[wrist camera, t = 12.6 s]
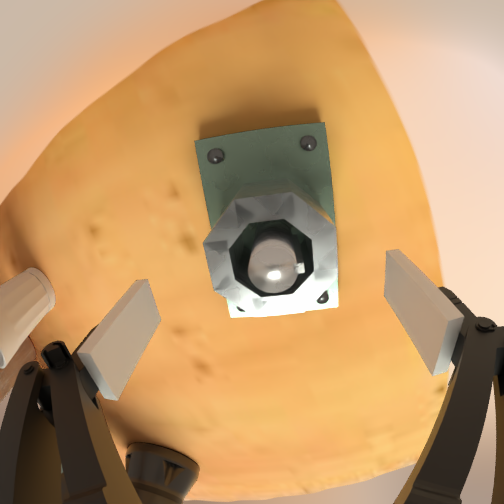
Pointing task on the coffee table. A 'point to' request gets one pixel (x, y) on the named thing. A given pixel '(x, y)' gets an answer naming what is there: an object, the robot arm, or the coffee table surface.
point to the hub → (238, 256)
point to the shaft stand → (262, 169)
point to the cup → (22, 309)
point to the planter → (15, 366)
